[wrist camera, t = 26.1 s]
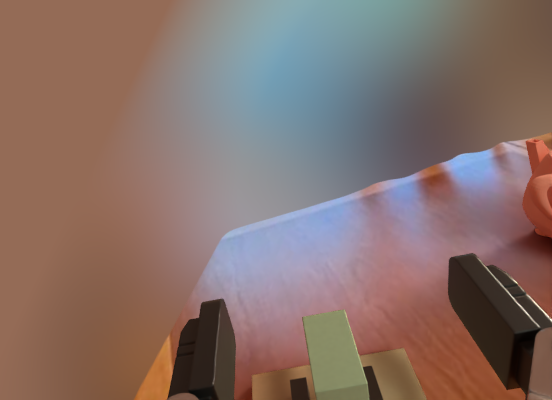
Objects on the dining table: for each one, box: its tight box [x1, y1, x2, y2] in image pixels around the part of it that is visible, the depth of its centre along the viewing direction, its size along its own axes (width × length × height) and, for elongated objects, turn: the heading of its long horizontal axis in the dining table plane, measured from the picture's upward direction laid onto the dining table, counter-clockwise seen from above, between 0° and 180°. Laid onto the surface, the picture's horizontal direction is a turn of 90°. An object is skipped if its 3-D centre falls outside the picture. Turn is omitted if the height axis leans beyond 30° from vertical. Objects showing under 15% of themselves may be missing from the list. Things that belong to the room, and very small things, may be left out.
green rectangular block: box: [302, 310, 369, 400], centre depth 32 cm, size 4×7×11 cm, turn 4°
